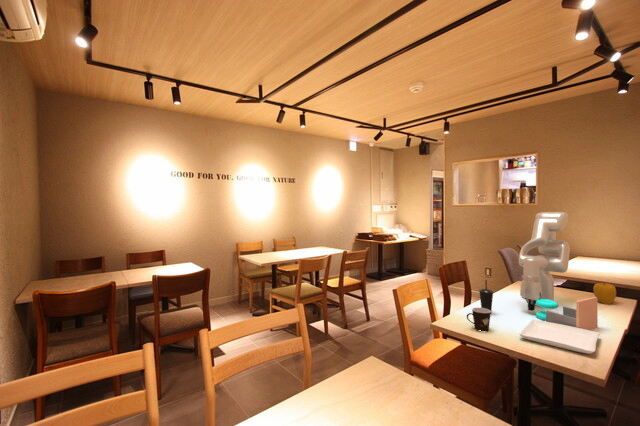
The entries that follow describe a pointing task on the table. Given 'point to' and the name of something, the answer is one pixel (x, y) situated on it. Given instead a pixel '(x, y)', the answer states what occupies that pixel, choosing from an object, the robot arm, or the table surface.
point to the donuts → (545, 304)
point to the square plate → (561, 336)
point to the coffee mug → (481, 318)
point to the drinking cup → (486, 297)
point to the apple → (604, 292)
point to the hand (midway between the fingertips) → (531, 310)
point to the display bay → (577, 315)
